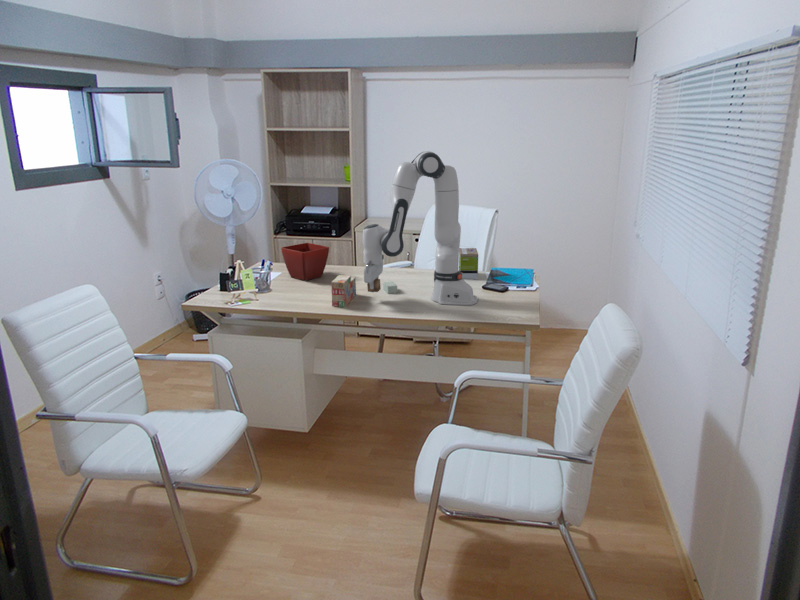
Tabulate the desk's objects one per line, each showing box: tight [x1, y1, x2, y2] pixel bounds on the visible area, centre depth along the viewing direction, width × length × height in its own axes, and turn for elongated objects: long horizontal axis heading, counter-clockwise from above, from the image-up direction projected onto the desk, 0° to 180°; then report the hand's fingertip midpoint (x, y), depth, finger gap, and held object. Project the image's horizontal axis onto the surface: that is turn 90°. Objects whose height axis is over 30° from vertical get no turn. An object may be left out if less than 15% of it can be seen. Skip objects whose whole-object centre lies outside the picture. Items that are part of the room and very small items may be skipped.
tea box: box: [458, 247, 479, 280], centre depth 328 cm, size 15×10×15 cm, turn 178°
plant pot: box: [280, 242, 330, 281], centre depth 324 cm, size 19×19×17 cm
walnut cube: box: [366, 278, 381, 293], centre depth 283 cm, size 5×5×5 cm
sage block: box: [382, 281, 398, 295], centre depth 301 cm, size 5×8×4 cm, turn 19°
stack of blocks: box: [330, 274, 357, 308], centre depth 284 cm, size 21×6×12 cm, turn 170°
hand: (374, 287), depth 283 cm, fingers closed on walnut cube, 5 cm apart
